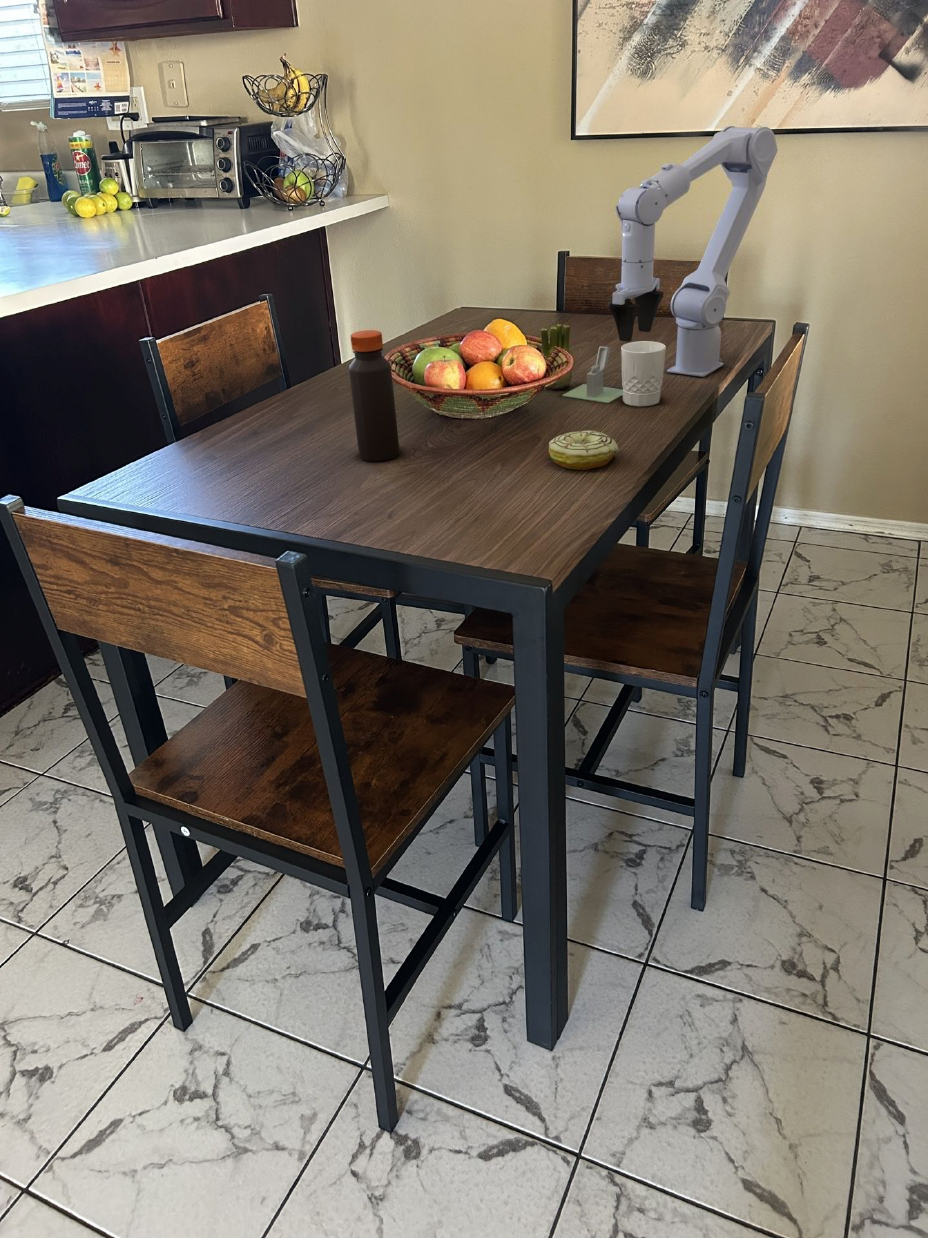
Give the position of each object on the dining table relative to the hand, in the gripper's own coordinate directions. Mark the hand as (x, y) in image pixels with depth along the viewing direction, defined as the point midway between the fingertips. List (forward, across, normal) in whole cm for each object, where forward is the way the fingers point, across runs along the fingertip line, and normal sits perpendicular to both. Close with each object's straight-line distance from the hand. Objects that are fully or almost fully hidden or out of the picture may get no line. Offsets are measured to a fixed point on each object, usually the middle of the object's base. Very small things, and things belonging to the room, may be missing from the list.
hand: (635, 335), depth 176 cm
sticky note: (+9, +8, -4) cm, 13 cm away
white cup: (+10, +8, +6) cm, 14 cm away
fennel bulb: (+10, +8, -12) cm, 18 cm away
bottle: (+10, +53, -19) cm, 57 cm away
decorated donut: (+10, +39, +12) cm, 42 cm away
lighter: (+9, +7, -4) cm, 12 cm away
